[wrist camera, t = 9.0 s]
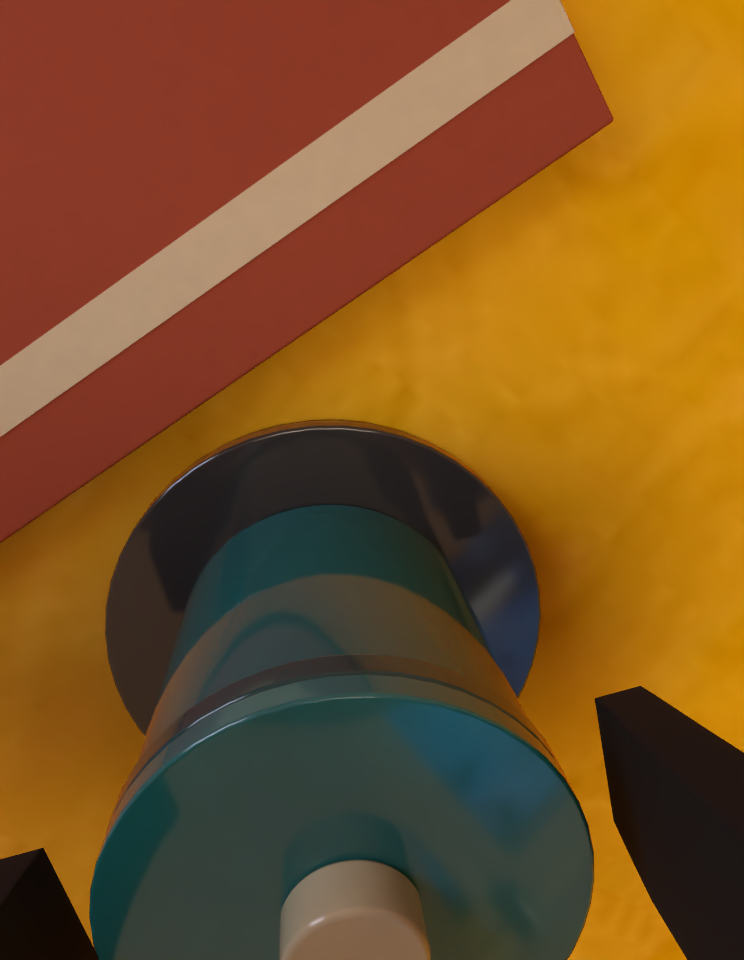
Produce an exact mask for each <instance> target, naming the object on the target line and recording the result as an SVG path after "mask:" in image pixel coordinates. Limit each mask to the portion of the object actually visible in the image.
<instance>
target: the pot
mask: <svg viewBox="0 0 744 960" xmlns="http://www.w3.org/2000/svg"><path fill="white" fill-rule="evenodd" d="M593 883H594V852H593V846H592V841H591V836H590V831H589V826H588V823H587V821H586V818H585V816H584V813H583V811H582V808H581V805H580V803H579V801H578V799H577V797H576V795H575V793H574V791H573V789H572V787H571V785H570V783H569V782H568V780H567V778H566V776H565V774H564V772H563V770H562V768H561V766H560V764H559V762H558V760H557V758H556V757H555V755H554V753H553V752H552V750H551V748H550V746H549V745H548V743H547V741H546V740H545V738H544V737H543V736H542V734H541V733H540V732H539V731H538V730H537V728H536V727H535V726H534V725H533V724H532V722H531V721H530V720H529V719H528V718H527V716H526V714H525V712H524V710H523V708H522V706H521V704H520V702H519V700H518V698H517V696H516V694H515V692H514V690H513V688H512V686H511V684H510V682H509V680H508V678H507V676H506V674H505V672H504V670H503V668H502V666H501V664H500V662H499V660H498V658H497V656H496V654H495V652H494V650H493V648H492V646H491V644H490V642H489V640H488V638H487V636H486V634H485V632H484V630H483V628H482V626H481V624H480V622H479V620H478V618H477V616H476V614H475V612H474V610H473V608H472V606H471V604H470V602H469V600H468V598H467V596H466V594H465V592H464V590H463V588H462V586H461V584H460V582H459V580H458V578H457V576H456V574H455V573H454V571H453V569H452V567H451V566H450V564H449V562H448V561H447V560H446V559H445V557H444V556H443V555H442V554H441V552H440V551H439V550H438V549H437V548H436V547H435V546H434V545H433V544H432V543H431V542H430V541H429V540H428V539H427V538H425V537H424V536H423V535H422V534H420V533H419V532H417V531H416V530H414V529H413V528H412V527H410V526H408V525H406V524H405V523H403V522H401V521H399V520H397V519H395V518H393V517H390V516H387V515H385V514H382V513H379V512H377V511H373V510H368V509H364V508H360V507H354V506H343V505H316V506H309V507H302V508H296V509H293V510H289V511H285V512H282V513H278V514H276V515H273V516H271V517H268V518H266V519H264V520H261V521H259V522H257V523H255V524H254V525H252V526H250V527H248V528H247V529H245V530H243V531H242V532H240V533H239V534H238V535H236V536H235V537H234V538H232V539H231V540H230V541H228V542H227V543H226V544H225V545H224V546H223V547H222V548H221V549H220V550H219V551H218V552H217V553H216V554H215V555H214V556H213V557H212V558H211V560H210V561H209V562H208V564H207V565H206V566H205V568H204V569H203V570H202V572H201V573H200V575H199V577H198V579H197V580H196V582H195V584H194V586H193V588H192V590H191V593H190V596H189V598H188V601H187V603H186V607H185V610H184V613H183V616H182V619H181V623H180V626H179V629H178V632H177V636H176V639H175V642H174V645H173V649H172V652H171V655H170V658H169V661H168V665H167V668H166V671H165V674H164V678H163V681H162V684H161V687H160V690H159V694H158V697H157V700H156V703H155V707H154V710H153V713H152V716H151V720H150V723H149V726H148V729H147V732H146V736H145V739H144V742H143V745H142V749H141V752H140V755H139V758H138V762H137V763H136V765H135V766H134V768H133V770H132V772H131V773H130V775H129V777H128V778H127V780H126V782H125V784H124V785H123V787H122V789H121V792H120V794H119V797H118V800H117V802H116V805H115V807H114V810H113V812H112V815H111V818H110V822H109V825H108V828H107V831H106V834H105V837H104V840H103V843H102V846H101V849H100V852H99V855H98V858H97V861H96V865H95V870H94V875H93V880H92V885H91V889H90V924H91V931H92V937H93V944H94V948H95V951H96V954H97V957H98V960H567V959H568V958H569V956H570V954H571V953H572V951H573V949H574V947H575V945H576V943H577V941H578V939H579V936H580V934H581V932H582V930H583V928H584V925H585V921H586V918H587V914H588V911H589V908H590V904H591V898H592V891H593Z"/></svg>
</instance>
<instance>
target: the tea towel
mask: <svg viewBox="0 0 744 960" xmlns="http://www.w3.org/2000/svg"><path fill="white" fill-rule="evenodd" d="M574 32H575V31H574V29H573V27H572V25H571V23H570V21H569V18H568V16H567V14H566V12H565V10H564V8H563V6H562V3H561V1H560V0H0V543H1V542H2V541H4V540H5V539H7V538H8V537H10V536H11V535H12V534H14V533H15V532H17V531H18V530H20V529H21V528H23V527H24V526H26V525H27V524H28V523H30V522H31V521H33V520H34V519H36V518H37V517H39V516H40V515H42V514H43V513H44V512H46V511H47V510H49V509H50V508H52V507H53V506H55V505H56V504H58V503H59V502H60V501H62V500H63V499H65V498H66V497H68V496H69V495H71V494H72V493H74V492H75V491H76V490H78V489H79V488H81V487H82V486H84V485H85V484H87V483H88V482H89V481H91V480H92V479H94V478H95V477H97V476H98V475H100V474H101V473H103V472H104V471H105V470H107V469H108V468H110V467H111V466H113V465H114V464H116V463H117V462H119V461H120V460H121V459H123V458H124V457H126V456H127V455H129V454H130V453H132V452H133V451H135V450H136V449H137V448H139V447H140V446H142V445H143V444H145V443H146V442H148V441H149V440H151V439H152V438H153V437H155V436H156V435H158V434H159V433H161V432H162V431H164V430H165V429H167V428H168V427H169V426H171V425H172V424H174V423H175V422H177V421H178V420H180V419H181V418H182V417H184V416H185V415H187V414H188V413H190V412H191V411H193V410H194V409H196V408H197V407H198V406H200V405H201V404H203V403H204V402H206V401H207V400H209V399H210V398H212V397H213V396H214V395H216V394H217V393H219V392H220V391H222V390H223V389H225V388H226V387H228V386H229V385H230V384H232V383H233V382H235V381H236V380H238V379H239V378H241V377H242V376H244V375H245V374H246V373H248V372H249V371H251V370H252V369H254V368H255V367H257V366H258V365H260V364H261V363H262V362H264V361H265V360H267V359H268V358H270V357H271V356H273V355H274V354H275V353H277V352H278V351H280V350H281V349H283V348H284V347H286V346H287V345H289V344H290V343H291V342H293V341H294V340H296V339H297V338H299V337H300V336H302V335H303V334H305V333H306V332H307V331H309V330H310V329H312V328H313V327H315V326H316V325H318V324H319V323H321V322H322V321H323V320H325V319H326V318H328V317H329V316H331V315H332V314H334V313H335V312H337V311H338V310H339V309H341V308H342V307H344V306H345V305H347V304H348V303H350V302H351V301H353V300H354V299H355V298H357V297H358V296H360V295H361V294H363V293H364V292H366V291H367V290H368V289H370V288H371V287H373V286H374V285H376V284H377V283H379V282H380V281H382V280H383V279H384V278H386V277H387V276H389V275H390V274H392V273H393V272H395V271H396V270H398V269H399V268H400V267H402V266H403V265H405V264H406V263H408V262H409V261H411V260H412V259H414V258H415V257H416V256H418V255H419V254H421V253H422V252H424V251H425V250H427V249H428V248H430V247H431V246H432V245H434V244H435V243H437V242H438V241H440V240H441V239H443V238H444V237H446V236H447V235H448V234H450V233H451V232H453V231H454V230H456V229H457V228H459V227H460V226H461V225H463V224H464V223H466V222H467V221H469V220H470V219H472V218H473V217H475V216H476V215H477V214H479V213H480V212H482V211H483V210H485V209H486V208H488V207H489V206H491V205H492V204H493V203H495V202H496V201H498V200H499V199H501V198H502V197H504V196H505V195H507V194H508V193H509V192H511V191H512V190H514V189H515V188H517V187H518V186H520V185H521V184H523V183H524V182H525V181H527V180H528V179H530V178H531V177H533V176H534V175H536V174H537V173H539V172H540V171H541V170H543V169H544V168H546V167H547V166H549V165H550V164H552V163H553V162H554V161H556V160H557V159H559V158H560V157H562V156H563V155H565V154H566V153H568V152H569V151H570V150H572V149H573V148H575V147H576V146H578V145H579V144H581V143H582V142H584V141H585V140H586V139H588V138H589V137H591V136H592V135H594V134H595V133H597V132H598V131H600V130H601V129H602V128H604V127H605V126H607V125H608V124H610V123H611V122H612V121H613V117H612V114H611V112H610V110H609V108H608V106H607V104H606V102H605V100H604V97H603V95H602V93H601V91H600V89H599V87H598V85H597V83H596V80H595V78H594V76H593V74H592V72H591V70H590V68H589V66H588V63H587V61H586V59H585V57H584V55H583V53H582V51H581V48H580V46H579V44H578V42H577V40H576V38H575V36H574V34H573V33H574Z"/></svg>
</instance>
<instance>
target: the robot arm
mask: <svg viewBox="0 0 744 960" xmlns="http://www.w3.org/2000/svg"><path fill="white" fill-rule="evenodd" d="M595 703H596V709H597V716H598V722H599V729H600V735H601V742H602V748H603V755H604V761H605V768H606V774H607V781H608V787H609V793H610V800H611V806H612V813H613V819H614V822H615V825H616V827H617V829H618V831H619V833H620V835H621V837H622V840H623V842H624V844H625V846H626V848H627V850H628V852H629V854H630V857H631V859H632V861H633V863H634V865H635V867H636V869H637V871H638V873H639V875H640V877H641V879H642V881H643V883H644V886H645V888H646V890H647V892H648V894H649V896H650V898H651V900H652V902H653V903H654V905H655V907H656V908H657V910H658V912H659V913H660V915H661V917H662V918H663V920H664V922H665V923H666V925H667V927H668V928H669V930H670V932H671V933H672V935H673V937H674V938H675V940H676V942H677V943H678V945H679V947H680V948H681V950H682V951H683V953H684V955H685V956H686V958H687V960H744V753H743V752H742V751H740V750H739V749H737V748H735V747H734V746H732V745H731V744H729V743H728V742H726V741H725V740H723V739H721V738H720V737H718V736H717V735H715V734H714V733H712V732H711V731H709V730H708V729H706V728H704V727H703V726H701V725H700V724H698V723H697V722H695V721H694V720H692V719H691V718H689V717H688V716H686V715H685V714H683V713H682V712H680V711H679V710H677V709H676V708H674V707H672V706H671V705H669V704H668V703H666V702H665V701H663V700H662V699H660V698H659V697H657V696H656V695H654V694H653V693H651V692H649V691H648V690H646V689H645V688H643V687H641V686H638V687H635V688H631V689H627V690H624V691H620V692H616V693H613V694H609V695H605V696H601V697H598V698H595ZM0 960H98V957H97V954H96V951H95V949H94V947H93V945H92V943H91V941H90V939H89V937H88V936H87V934H86V932H85V930H84V928H83V926H82V924H81V922H80V920H79V918H78V916H77V914H76V912H75V910H74V908H73V906H72V904H71V902H70V900H69V898H68V896H67V894H66V892H65V890H64V888H63V886H62V884H61V882H60V880H59V878H58V876H57V874H56V872H55V870H54V868H53V866H52V864H51V862H50V860H49V858H48V856H47V854H46V852H45V850H44V848H41V849H37V850H33V851H30V852H26V853H22V854H19V855H15V856H11V857H7V858H4V859H0Z"/></svg>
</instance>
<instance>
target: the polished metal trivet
mask: <svg viewBox="0 0 744 960" xmlns="http://www.w3.org/2000/svg"><path fill="white" fill-rule="evenodd" d="M316 505H343V506H354V507H360V508H364V509H368V510H373V511H377V512H379V513H382V514H385V515H387V516H390V517H393V518H395V519H397V520H399V521H401V522H403V523H405V524H406V525H408V526H410V527H412V528H413V529H414V530H416V531H417V532H419V533H420V534H422V535H423V536H424V537H425V538H427V539H428V540H429V541H430V542H431V543H432V544H433V545H434V546H435V547H436V548H437V549H438V550H439V551H440V552H441V554H442V555H443V556H444V557H445V559H446V560H447V561H448V562H449V564H450V566H451V567H452V569H453V571H454V573H455V574H456V576H457V578H458V580H459V582H460V584H461V586H462V588H463V590H464V592H465V594H466V596H467V598H468V600H469V602H470V604H471V606H472V608H473V610H474V612H475V614H476V616H477V618H478V620H479V622H480V624H481V626H482V628H483V630H484V632H485V634H486V636H487V638H488V640H489V642H490V644H491V646H492V648H493V650H494V652H495V654H496V656H497V658H498V660H499V662H500V664H501V666H502V668H503V670H504V672H505V674H506V676H507V678H508V680H509V682H510V684H511V686H512V688H513V690H514V692H515V694H516V696H517V698H518V697H519V695H520V693H521V691H522V690H523V688H524V686H525V683H526V680H527V678H528V675H529V673H530V670H531V667H532V665H533V661H534V657H535V652H536V648H537V644H538V640H539V629H540V618H541V608H540V589H539V584H538V579H537V574H536V569H535V565H534V562H533V559H532V556H531V554H530V551H529V548H528V545H527V542H526V540H525V538H524V536H523V535H522V533H521V531H520V529H519V527H518V525H517V523H516V522H515V520H514V518H513V517H512V515H511V514H510V513H509V511H508V510H507V509H506V507H505V506H504V504H503V503H502V502H501V500H500V499H499V498H498V496H497V495H496V494H495V493H494V492H493V490H492V489H491V488H490V487H489V486H488V485H487V484H486V483H485V482H484V481H483V480H482V479H481V478H480V477H479V476H478V475H477V474H476V473H475V472H474V471H472V470H471V469H470V468H468V467H467V466H466V465H464V464H463V463H462V462H460V461H459V460H458V459H456V458H455V457H454V456H452V455H451V454H449V453H447V452H446V451H444V450H442V449H440V448H438V447H437V446H435V445H433V444H431V443H429V442H428V441H425V440H423V439H420V438H418V437H415V436H413V435H410V434H408V433H405V432H402V431H400V430H396V429H392V428H388V427H384V426H380V425H376V424H371V423H363V422H354V421H345V420H317V421H305V422H298V423H291V424H284V425H279V426H275V427H272V428H268V429H265V430H261V431H257V432H254V433H251V434H248V435H246V436H243V437H241V438H239V439H236V440H234V441H232V442H229V443H227V444H225V445H223V446H221V447H219V448H217V449H216V450H214V451H212V452H211V453H209V454H207V455H206V456H204V457H202V458H200V459H199V460H197V461H196V462H195V463H193V464H192V465H191V466H189V467H188V468H187V469H186V470H184V471H183V472H182V473H181V474H179V475H178V476H177V477H175V478H174V479H173V480H172V481H171V482H170V483H169V484H168V485H167V486H166V487H165V488H164V490H163V491H162V492H161V493H160V494H159V495H158V496H157V497H156V498H155V499H154V500H153V501H152V503H151V504H150V506H149V507H148V508H147V510H146V511H145V512H144V514H143V515H142V517H141V518H140V519H139V521H138V522H137V524H136V525H135V527H134V529H133V531H132V533H131V535H130V536H129V538H128V540H127V542H126V544H125V546H124V548H123V550H122V552H121V554H120V556H119V559H118V562H117V564H116V567H115V570H114V573H113V576H112V579H111V583H110V588H109V593H108V599H107V604H106V620H105V637H106V645H107V653H108V660H109V664H110V667H111V671H112V675H113V678H114V682H115V685H116V687H117V689H118V692H119V694H120V696H121V698H122V701H123V703H124V705H125V707H126V709H127V711H128V712H129V714H130V716H131V717H132V719H133V720H134V722H135V723H136V725H137V727H138V728H139V730H140V731H141V732H142V733H143V734H144V736H146V732H147V729H148V726H149V723H150V720H151V716H152V713H153V710H154V707H155V703H156V700H157V697H158V694H159V690H160V687H161V684H162V681H163V678H164V674H165V671H166V668H167V665H168V661H169V658H170V655H171V652H172V649H173V645H174V642H175V639H176V636H177V632H178V629H179V626H180V623H181V619H182V616H183V613H184V610H185V607H186V603H187V601H188V598H189V596H190V593H191V590H192V588H193V586H194V584H195V582H196V580H197V579H198V577H199V575H200V573H201V572H202V570H203V569H204V568H205V566H206V565H207V564H208V562H209V561H210V560H211V558H212V557H213V556H214V555H215V554H216V553H217V552H218V551H219V550H220V549H221V548H222V547H223V546H224V545H225V544H226V543H227V542H228V541H230V540H231V539H232V538H234V537H235V536H236V535H238V534H239V533H240V532H242V531H243V530H245V529H247V528H248V527H250V526H252V525H254V524H255V523H257V522H259V521H261V520H264V519H266V518H268V517H271V516H273V515H276V514H278V513H282V512H285V511H289V510H293V509H296V508H302V507H309V506H316Z"/></svg>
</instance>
